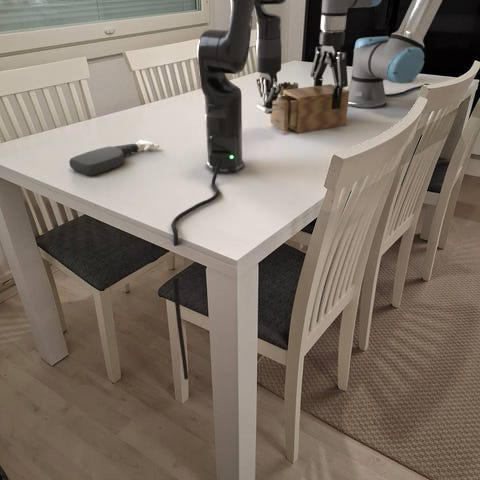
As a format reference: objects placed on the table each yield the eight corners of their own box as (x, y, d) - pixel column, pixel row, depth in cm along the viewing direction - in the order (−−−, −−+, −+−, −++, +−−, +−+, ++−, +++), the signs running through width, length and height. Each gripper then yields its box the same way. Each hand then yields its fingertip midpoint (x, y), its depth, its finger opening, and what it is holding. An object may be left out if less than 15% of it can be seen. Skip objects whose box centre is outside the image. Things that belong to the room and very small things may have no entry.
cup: (274, 107, 166) (275, 85, 162) (282, 102, 172) (282, 80, 168) (293, 109, 163) (294, 87, 159) (300, 104, 169) (301, 82, 165)
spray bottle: (67, 168, 120) (139, 144, 136) (91, 178, 114) (163, 151, 130) (65, 157, 118) (137, 134, 134) (89, 167, 112) (162, 142, 128)
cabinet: (297, 132, 142) (299, 97, 136) (282, 123, 150) (283, 90, 144) (345, 125, 148) (349, 91, 142) (328, 116, 156) (330, 84, 150)
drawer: (266, 134, 138) (267, 104, 133) (254, 125, 145) (254, 97, 141) (329, 124, 146) (332, 95, 141) (314, 116, 153) (316, 89, 148)
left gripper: (290, 56, 127) (288, 117, 136) (270, 49, 137) (269, 106, 146) (266, 59, 124) (266, 120, 134) (247, 52, 135) (248, 109, 144)
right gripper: (366, 34, 127) (356, 111, 139) (322, 26, 146) (317, 95, 157) (344, 36, 125) (336, 114, 137) (302, 27, 143) (298, 97, 155)
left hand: (268, 112), depth 140 cm, fingers closed
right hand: (326, 104), depth 147 cm, fingers closed on cabinet, 11 cm apart
